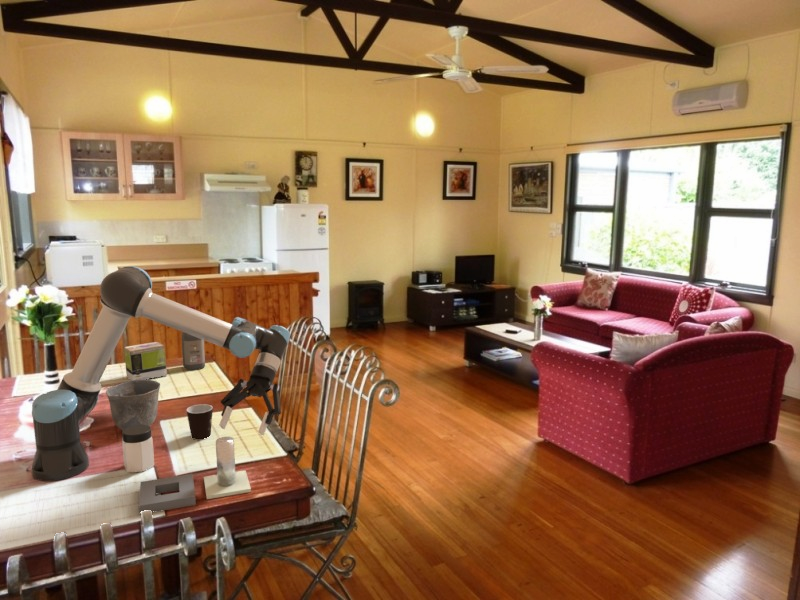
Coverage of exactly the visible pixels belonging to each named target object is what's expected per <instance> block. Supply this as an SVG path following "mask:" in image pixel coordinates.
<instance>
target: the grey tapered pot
mask: <svg viewBox="0 0 800 600" xmlns="http://www.w3.org/2000/svg"><path fill="white" fill-rule="evenodd" d="M160 388H161V382H158V381H157V380H154V379H153V380H152V379H147V380H132V381H131V380H128V381H123V382H122V383H117V384H116V385H114V386H113V385H112V386H110V387H109V388H107V389H106V392H105V393H106V396H107V399H108V401H109V402H108V403H109V406H110V408H109V409H110V412H111V417H112V420H113V423H114V425H116V427H117V428H119V430H122V431H123V430H124V429H126V428H128V427H131V426H136V425H147V426H150V427H151V426H152V424H153V423H154V422H155V420H156V419H157V415H158V406H159V392H160Z"/></svg>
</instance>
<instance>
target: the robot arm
mask: <svg viewBox="0 0 800 600" xmlns="http://www.w3.org/2000/svg"><path fill="white" fill-rule="evenodd" d="M152 288H153V281H152V279H151V276H150V275H149V274H148V272H147V271H146V270H144V269H143V268H141V267H139V266H138V267H137V266H130V265H129V266H122V267H120V268H119V269H117V270H115V271H113V272H109V274H106V276H105V277H104V278H103V279H102V281H101V283H100V287H99V294H100V296H101V297H100V299H99V302H100V304H101V306H102V308H101V310H100V311H99V314H98V316H97V318H96V319H95V323H94V324H93V327H92V329H91V330H90V333H89V335H88V337H87V339H86V341H85V343H84V345H83V347H82V350H81V351H80V354H79V355H78V358H77V359H76V362H75V364H74V366H73V369H72V370H71V372H68V373H65V374H64V375H63V378H62V379H61V380H60V383H59V385H58V388H57V389H56V390H50V391H47V392H46V393H42V394H40V395H38V396H37V397H36V398H35V399H34V400H33V402H32V405H31V406H32V407H31V416H32V421H33V423H32V424H33V433H34V439H35V441H34V442H35V453H34V457H33V461H32V464H31V476H32V478H33V479H35V480H38V481H45V482H46V481H47V482H51V481H61V480H64V479H69V478H73V477H74V476H77V475H79V474H81V473H83V472H85V471H86V470H87V469H89V466H90V461H89V456H88V453H87V452H86V450H85V447H84V446H83V444H82V441H81V433H80V430H81V429H80V423H81V422H82V421H83V420H84V419H85V418H86V417H87V415H89V414H90V413H91V412H93V410H94V409H95V407H96V405H97V404H98V401H99V394H100V392H101V390H102V384H101V382H100V380H101V379H102V376H103V374H104V372H105V370H106V369H107V366H108V365H109V362H110V359H111V357H112V355H113V354H114V351H115V350H116V347H117V346H118V344H119V341H120V339H121V338H122V335H123V333H124V331H125V329H126V327H127V326H128V323H129V321H130V319H131V317H132V318H133V317H134V318H136V319H138V318H141V317H142V318H146V319H148V320H151V321H153V322H155V323H159V324H161V325H163V326H166V327H169V328H172V329H175V330H177V331H180V332H181V333H183V332H184V333H187V334H190V335H192V336H195V337H197V338H200V339H203V340H204V342H208V343H211V344H214V345H215V346H218V347H221V348H223V349H227V350H228V351H230V352H231V355H233V356H235V357H237V358H239V359H241V358H247V357H249V356H250V355H252V354H253V352H254V351H255V349H256V350H258V351H259V353H258V356H257V358H256V360H255V363H254V365H253V367H252V371H251V373H250V376H249V380H244V379H243V378H240V379H239V380H238V381H237V384H236V385H234V387H233V388H232V389H231V390H230V391H229V392H228V393H227V394H226V395H225V396H224V397H223V398H222V399H221V400H220V404H221V405H222V406H223V410H222V411H221V419H220V422H219V425H218V426H219V427H220V428H221V429H223V430H225V429H226V427H227V425H228V422H229V420H230V417H231V415H232V413H233V409H232V408H233V407H235V406H236V405H238V404H239V403H240V402H242V401H244V400H245V399H246V398H250V397H258V398H261V397H262V398H263V401H264V403H265V406H266V407H267V411H265V413H264V415H263V418H262V420H261V423H260V426H259V428H258V433H259V434H260V435H261V436H265V433H266V431H267V428H268V425H269V426H270V425H271V424H272V422H273V419H274V416H276V415H281V414H282V410H281V401H280V390H281V387H280V385H279V384H278V383H274V381H275V378H276V375H277V374H276V373H277V372H278V370H279V368H280V366H281V362H282V361H283V356H284V355H285V352H286V350H287V347H288V344H289V342H290V338H291V332H290V331H289V329H287V328H286V327H284V326H283V325H277V324H274V325H271V326H270V327H269V328H266V327H263V326H261V325H259V324H257V323H254V322H252V321H249V320H247V319H245V318H242V317H239V316H237V317H235V318H234V319H233V320H232V323H230V322H227V321H224V320H222V319H220V318H217V317H214V316H211V315H209V314H207V313H204V312H202V311H199V310H197V309H195V310H194V309H192V308H189V307H187V306H188V305H184V304H181V303H179V302H176V301H175V300H172V299H170V298H166V297H164V296H162V295H159V294H158V293H157V294H156V293H153V290H152ZM273 383H274V384H273ZM270 391H272V397H273V405H272V402H271V400H270V397H269V394H268V392H270ZM273 406H274V407H273Z"/></svg>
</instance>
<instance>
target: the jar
mask: <svg viewBox="0 0 800 600" xmlns="http://www.w3.org/2000/svg"><path fill="white" fill-rule="evenodd" d="M121 435H122V438H121V443H122V444H121V445H122V454H123V455H122V457H123V458H122V459H123V468H124V469H125V472H127V473H142V471H143V472H144V470H145V471H147V470H149V469H151V468H152V467H154V466H155V456H154V454H155V453H154V444H153V443H154V442H153V441H154V440H153V437H152V427H151V425H150V426H147V425H136V426H131V427H128V428H126V429H124V430H122V431H121ZM148 468H149V469H148ZM146 469H147V470H146Z"/></svg>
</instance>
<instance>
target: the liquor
mask: <svg viewBox="0 0 800 600" xmlns="http://www.w3.org/2000/svg"><path fill="white" fill-rule="evenodd" d="M186 306H187V307H189V308H192V309H194V310H196V306H195V305H186ZM181 349H182V351H181V353H182V366H183V367H184V370H186V371H197V370H202V369H204V368H205V366H206V359H205V357H206V356H205V340H203V339H200V338H197V337H195V336H192V335H190V334H187V333H184V332H181Z"/></svg>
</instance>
